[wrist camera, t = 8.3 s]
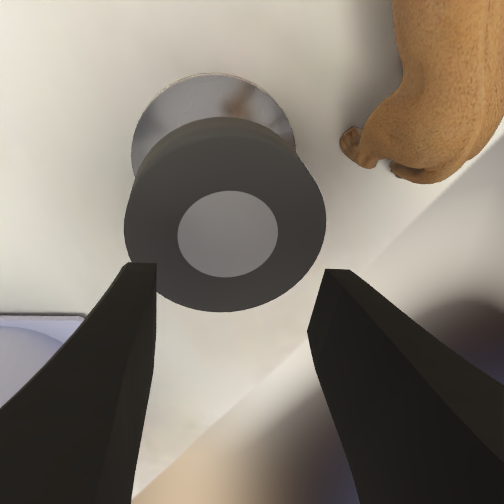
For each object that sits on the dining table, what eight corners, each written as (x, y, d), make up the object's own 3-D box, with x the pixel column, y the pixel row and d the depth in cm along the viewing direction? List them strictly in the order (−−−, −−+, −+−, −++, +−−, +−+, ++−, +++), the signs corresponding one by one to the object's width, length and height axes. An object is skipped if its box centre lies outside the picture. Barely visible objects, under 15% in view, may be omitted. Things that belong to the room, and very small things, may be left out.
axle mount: (279, 232, 19) (288, 257, 18) (134, 225, 18) (128, 251, 16) (309, 84, 16) (324, 96, 14) (129, 61, 14) (121, 71, 13)
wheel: (290, 278, 15) (303, 313, 14) (134, 274, 14) (127, 311, 13) (327, 127, 12) (349, 148, 11) (128, 105, 11) (118, 125, 9)
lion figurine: (237, -259, 11) (355, -849, 3) (425, -356, 10) (1077, -1312, 3) (347, 192, 19) (452, 320, 11) (454, 150, 18) (635, 255, 11)
